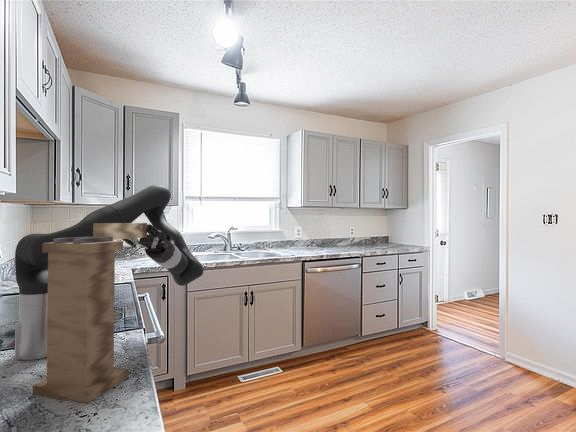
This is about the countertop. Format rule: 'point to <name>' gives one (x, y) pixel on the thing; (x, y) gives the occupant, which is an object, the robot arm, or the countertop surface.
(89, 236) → the robot arm
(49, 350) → the walnut stand
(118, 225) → the maple bar
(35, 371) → the countertop surface
